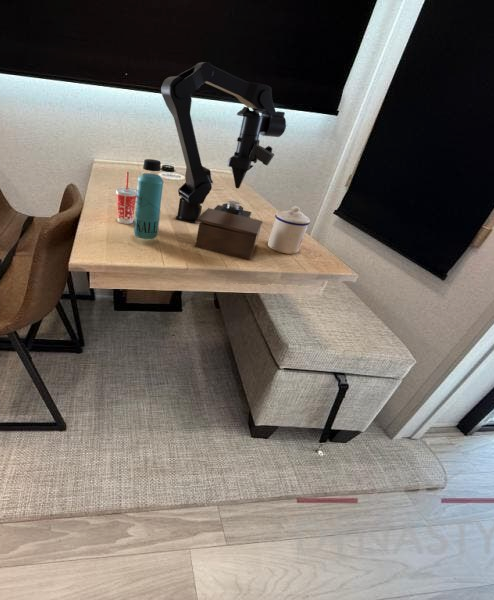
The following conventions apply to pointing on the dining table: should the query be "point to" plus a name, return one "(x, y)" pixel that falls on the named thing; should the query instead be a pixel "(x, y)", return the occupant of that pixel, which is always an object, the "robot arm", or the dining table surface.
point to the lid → (230, 221)
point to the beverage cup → (126, 203)
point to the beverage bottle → (148, 201)
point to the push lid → (233, 204)
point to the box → (226, 241)
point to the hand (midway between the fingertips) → (237, 188)
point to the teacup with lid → (288, 231)
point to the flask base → (233, 210)
